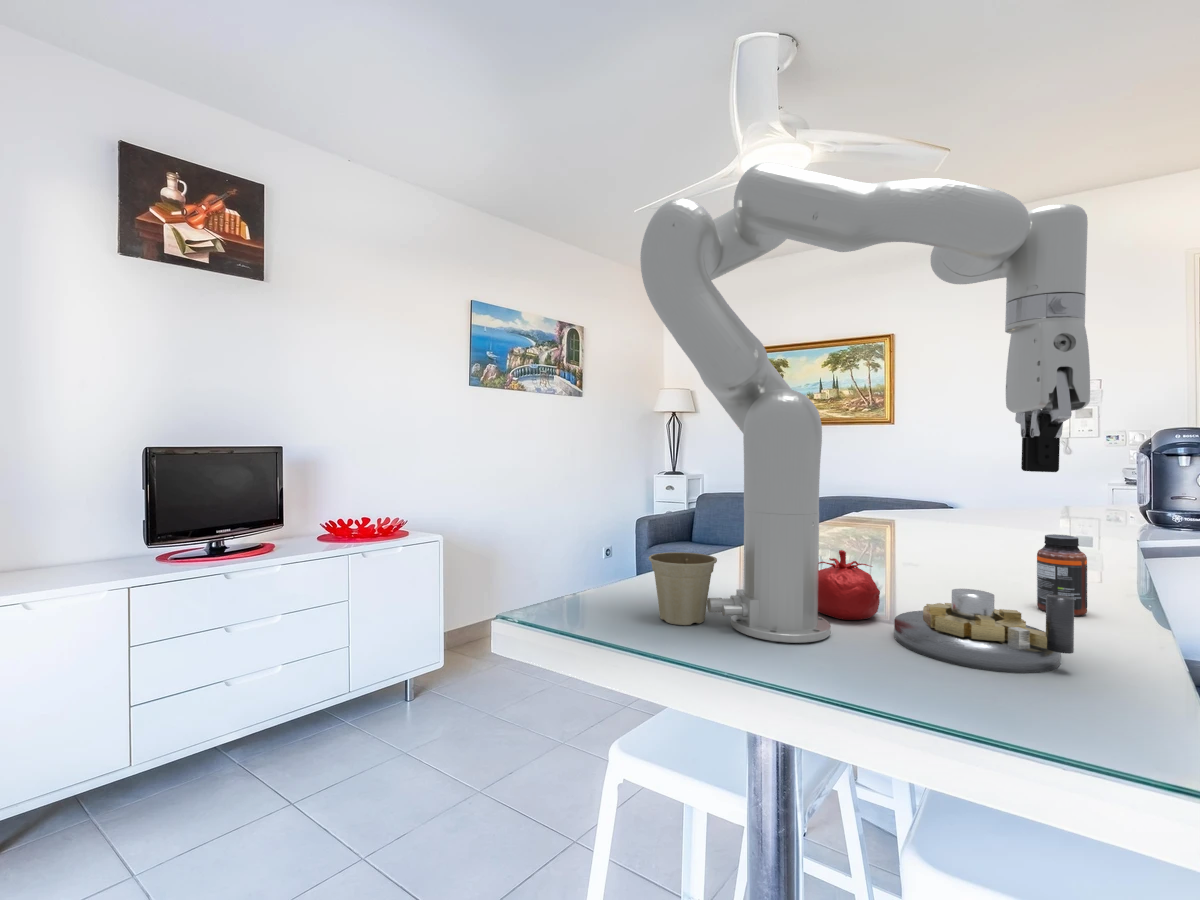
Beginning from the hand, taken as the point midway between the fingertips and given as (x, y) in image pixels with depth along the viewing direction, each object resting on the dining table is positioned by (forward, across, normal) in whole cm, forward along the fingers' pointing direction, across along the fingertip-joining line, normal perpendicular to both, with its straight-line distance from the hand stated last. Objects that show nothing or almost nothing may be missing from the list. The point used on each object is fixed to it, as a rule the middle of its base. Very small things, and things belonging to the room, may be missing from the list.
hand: (1039, 471), depth 69 cm
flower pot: (+22, +2, +42) cm, 48 cm away
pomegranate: (+22, +11, +20) cm, 31 cm away
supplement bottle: (+22, +22, -13) cm, 33 cm away
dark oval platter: (+22, 0, +6) cm, 23 cm away
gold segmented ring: (+19, -1, +5) cm, 20 cm away
